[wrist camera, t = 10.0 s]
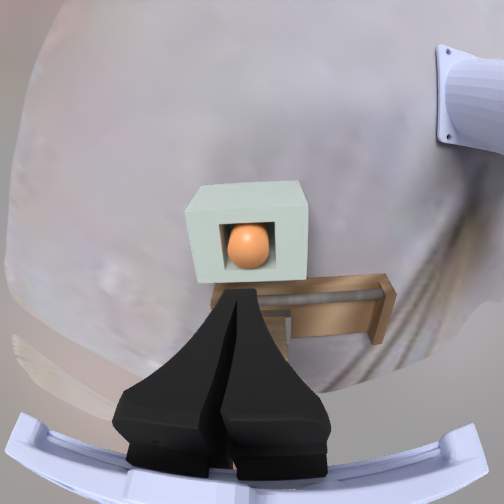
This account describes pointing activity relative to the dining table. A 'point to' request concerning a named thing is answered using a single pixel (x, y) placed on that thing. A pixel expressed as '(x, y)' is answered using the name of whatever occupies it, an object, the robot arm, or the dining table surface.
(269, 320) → the block
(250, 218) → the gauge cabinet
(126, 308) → the dining table surface
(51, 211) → the dining table surface
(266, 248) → the orange rounded peg
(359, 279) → the rail deck
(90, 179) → the dining table surface
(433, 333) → the dining table surface
